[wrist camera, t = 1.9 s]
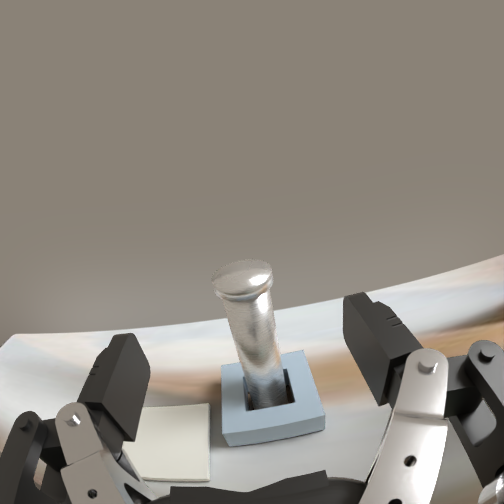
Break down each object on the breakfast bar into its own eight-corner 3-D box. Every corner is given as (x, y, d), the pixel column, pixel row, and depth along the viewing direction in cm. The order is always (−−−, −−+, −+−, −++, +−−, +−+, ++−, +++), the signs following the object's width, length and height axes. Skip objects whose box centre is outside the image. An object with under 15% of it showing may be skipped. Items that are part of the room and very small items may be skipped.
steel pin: (287, 386, 30) (267, 255, 24) (295, 416, 26) (275, 281, 19) (249, 393, 30) (212, 265, 24) (252, 424, 26) (210, 293, 19)
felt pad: (210, 406, 29) (208, 403, 29) (209, 481, 20) (207, 478, 19) (134, 411, 29) (132, 407, 28) (120, 476, 20) (116, 474, 19)
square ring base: (293, 333, 39) (291, 316, 38) (324, 429, 24) (325, 414, 22) (226, 346, 39) (221, 330, 38) (229, 446, 23) (222, 433, 22)
